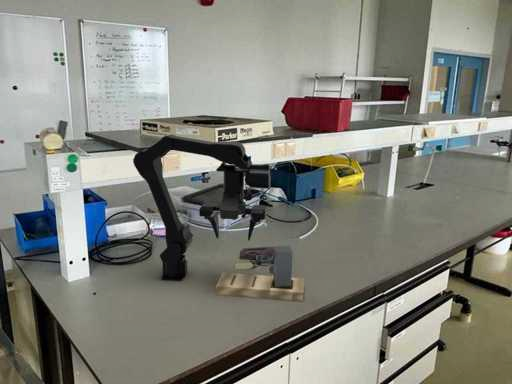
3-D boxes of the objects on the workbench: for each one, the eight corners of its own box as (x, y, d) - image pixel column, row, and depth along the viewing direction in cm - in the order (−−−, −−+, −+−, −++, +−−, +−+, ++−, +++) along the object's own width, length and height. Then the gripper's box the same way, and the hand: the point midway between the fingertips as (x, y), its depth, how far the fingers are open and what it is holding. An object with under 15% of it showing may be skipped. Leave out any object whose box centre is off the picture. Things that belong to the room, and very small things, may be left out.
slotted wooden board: (216, 294, 118) (216, 285, 118) (222, 280, 127) (222, 271, 126) (303, 301, 115) (303, 292, 115) (303, 286, 124) (304, 277, 123)
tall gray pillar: (274, 296, 118) (276, 252, 115) (272, 288, 122) (274, 246, 119) (290, 295, 118) (292, 251, 115) (288, 288, 123) (289, 245, 119)
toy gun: (289, 276, 132) (293, 253, 146) (288, 260, 130) (291, 239, 144) (234, 277, 135) (242, 255, 149) (231, 262, 134) (240, 241, 148)
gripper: (193, 191, 113) (194, 247, 117) (263, 195, 111) (262, 251, 115) (204, 182, 124) (204, 233, 128) (267, 186, 122) (266, 237, 126)
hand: (233, 239), depth 124 cm, fingers open, 9 cm apart
